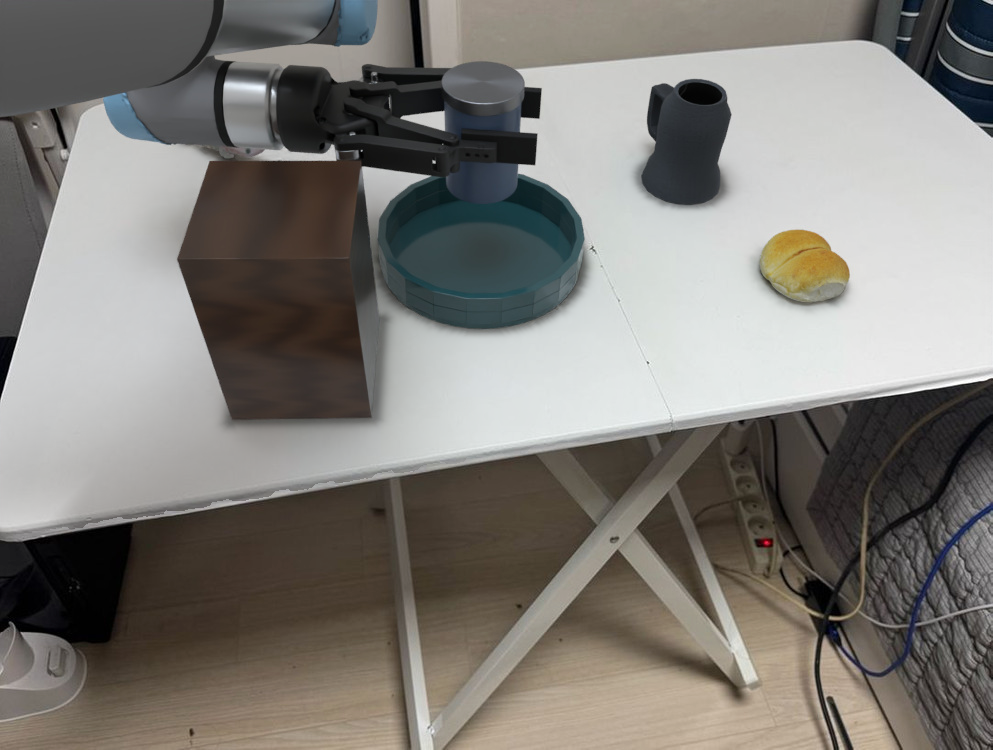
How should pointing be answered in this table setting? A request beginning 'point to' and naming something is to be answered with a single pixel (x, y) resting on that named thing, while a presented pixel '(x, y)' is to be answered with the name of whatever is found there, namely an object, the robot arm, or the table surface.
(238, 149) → the fish
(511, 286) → the round teal tray
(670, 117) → the mug
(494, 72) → the tin
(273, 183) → the brown wooden block
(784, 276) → the bread roll
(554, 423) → the table surface
